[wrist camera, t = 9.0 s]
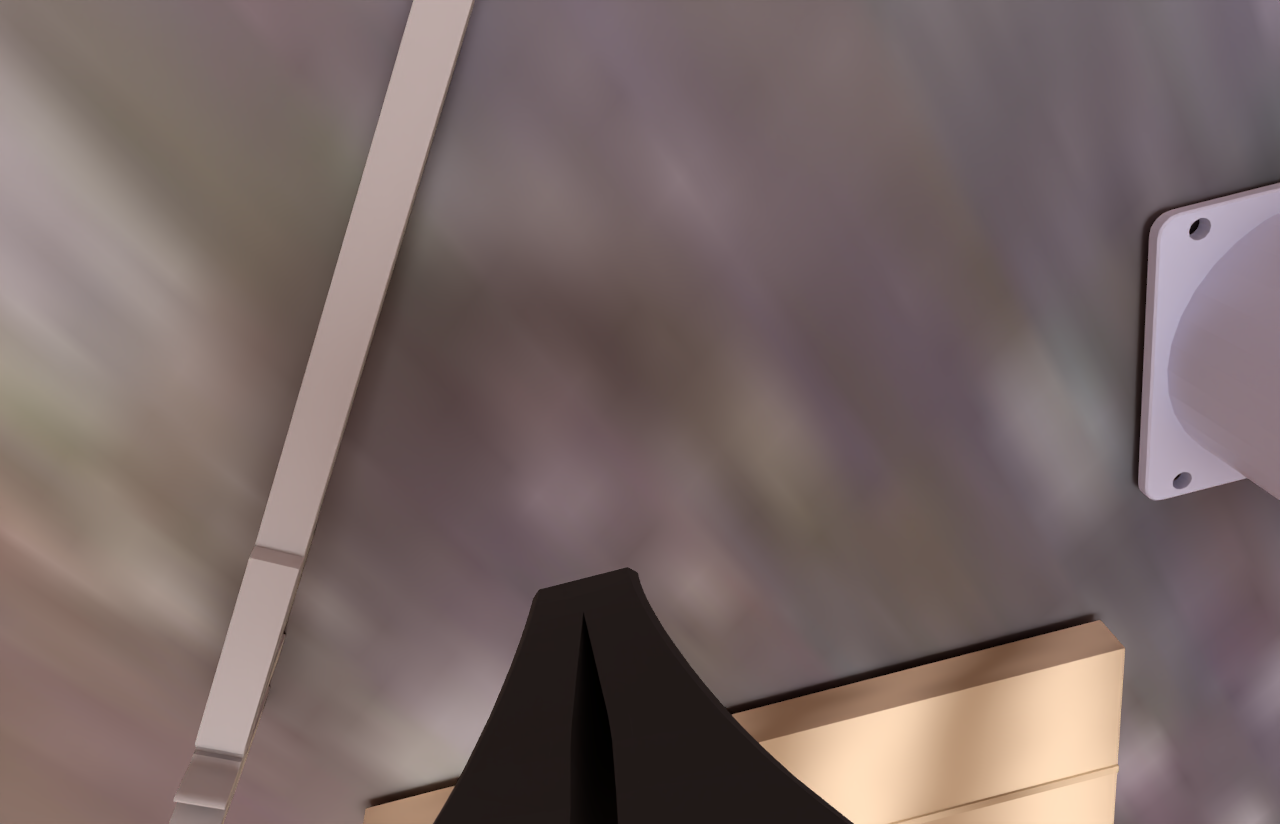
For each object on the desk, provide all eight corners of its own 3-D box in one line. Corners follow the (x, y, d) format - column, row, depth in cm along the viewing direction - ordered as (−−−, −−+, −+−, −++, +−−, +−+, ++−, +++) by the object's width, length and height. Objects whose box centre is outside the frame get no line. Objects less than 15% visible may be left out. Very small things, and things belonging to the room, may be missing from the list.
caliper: (272, 693, 25) (201, 905, 19) (230, 685, 24) (145, 898, 19) (507, -105, 17) (504, -142, 12) (450, -130, 17) (419, -181, 11)
